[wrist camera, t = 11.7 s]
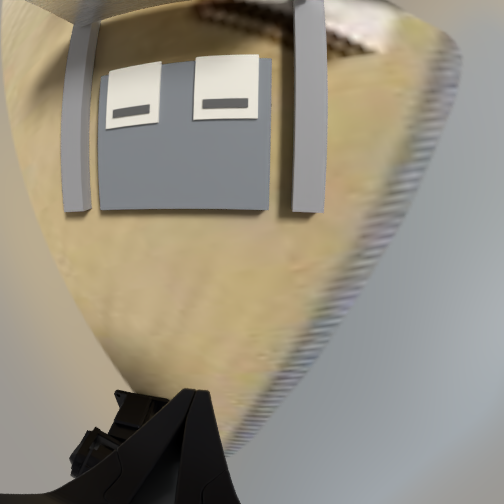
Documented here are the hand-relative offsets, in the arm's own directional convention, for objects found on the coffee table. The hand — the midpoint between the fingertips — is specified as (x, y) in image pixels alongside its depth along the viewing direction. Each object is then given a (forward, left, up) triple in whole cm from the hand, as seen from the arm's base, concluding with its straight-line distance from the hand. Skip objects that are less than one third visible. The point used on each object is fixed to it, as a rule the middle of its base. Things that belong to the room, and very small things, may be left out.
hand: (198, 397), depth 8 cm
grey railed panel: (+12, +4, -13) cm, 18 cm away
